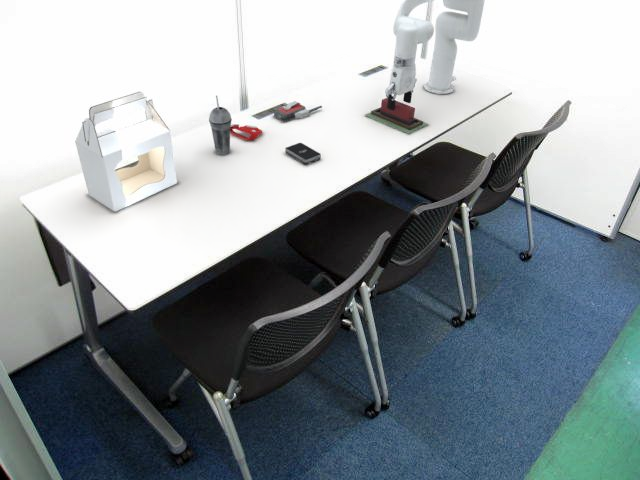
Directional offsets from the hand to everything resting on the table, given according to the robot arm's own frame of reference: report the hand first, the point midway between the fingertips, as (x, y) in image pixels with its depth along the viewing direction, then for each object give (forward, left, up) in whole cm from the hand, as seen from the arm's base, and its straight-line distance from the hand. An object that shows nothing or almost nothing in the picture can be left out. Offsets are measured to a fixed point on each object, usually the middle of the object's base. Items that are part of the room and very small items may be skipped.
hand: (398, 105), depth 205 cm
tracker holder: (+52, -27, -6) cm, 59 cm away
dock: (+1, 0, -6) cm, 6 cm away
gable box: (+100, -20, -6) cm, 102 cm away
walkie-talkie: (+26, -28, -6) cm, 39 cm away
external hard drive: (+48, -2, -6) cm, 48 cm away
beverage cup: (+66, -22, -6) cm, 70 cm away
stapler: (0, 0, -5) cm, 5 cm away
